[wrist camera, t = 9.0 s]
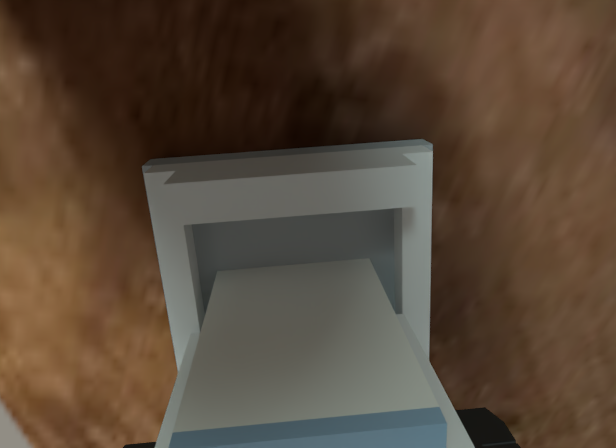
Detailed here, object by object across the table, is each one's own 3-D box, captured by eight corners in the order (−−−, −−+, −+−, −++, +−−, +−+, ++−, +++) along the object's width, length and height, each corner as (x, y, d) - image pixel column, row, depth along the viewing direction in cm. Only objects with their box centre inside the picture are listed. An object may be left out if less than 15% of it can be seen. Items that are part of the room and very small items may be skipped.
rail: (150, 159, 14) (113, 187, 11) (422, 139, 15) (463, 161, 11) (224, 594, 20) (214, 696, 17) (417, 573, 20) (444, 670, 17)
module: (217, 270, 14) (167, 450, 8) (369, 257, 15) (447, 423, 8) (239, 435, 16) (214, 692, 10) (373, 422, 16) (439, 666, 10)
